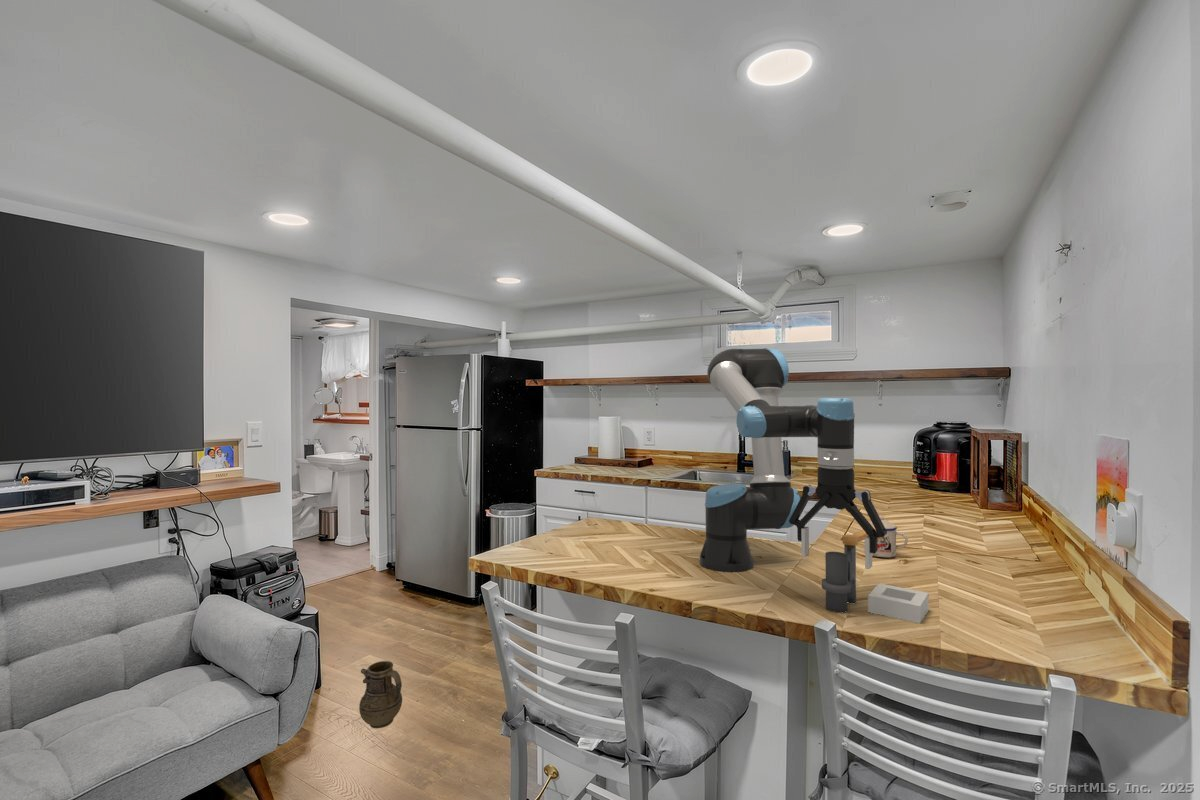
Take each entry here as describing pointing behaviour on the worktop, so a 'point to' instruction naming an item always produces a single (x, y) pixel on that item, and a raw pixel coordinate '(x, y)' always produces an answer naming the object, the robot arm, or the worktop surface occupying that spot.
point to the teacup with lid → (888, 540)
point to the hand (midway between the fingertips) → (835, 561)
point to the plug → (836, 582)
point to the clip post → (851, 571)
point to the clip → (855, 538)
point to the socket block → (898, 602)
